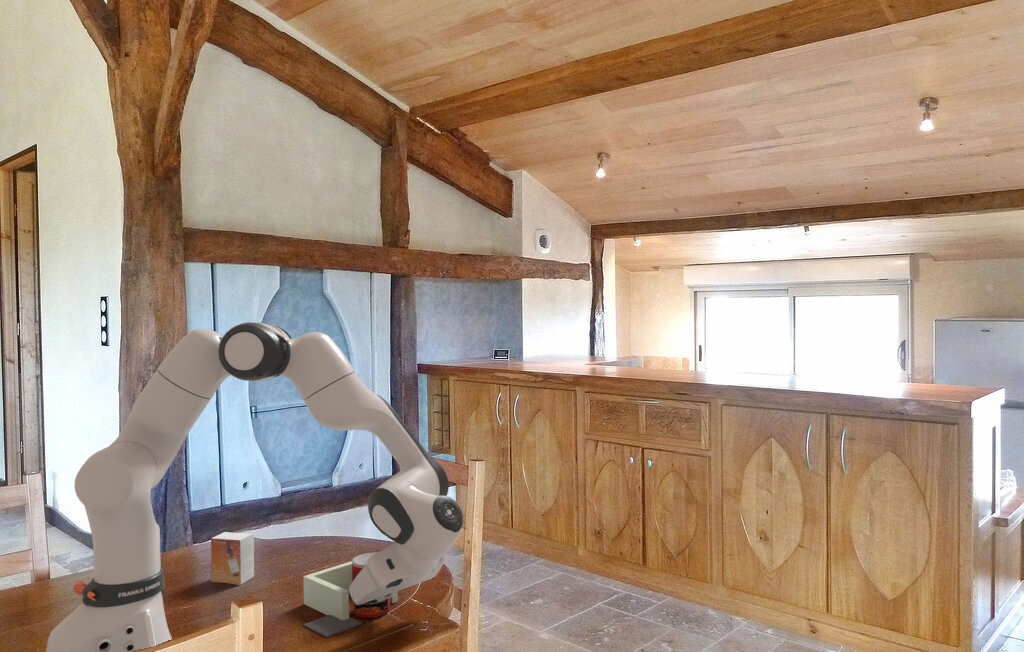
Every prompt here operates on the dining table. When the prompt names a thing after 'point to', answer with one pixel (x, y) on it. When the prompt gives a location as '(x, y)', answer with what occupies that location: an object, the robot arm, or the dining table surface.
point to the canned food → (370, 607)
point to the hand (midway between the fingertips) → (382, 596)
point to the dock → (331, 590)
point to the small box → (232, 558)
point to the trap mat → (331, 625)
